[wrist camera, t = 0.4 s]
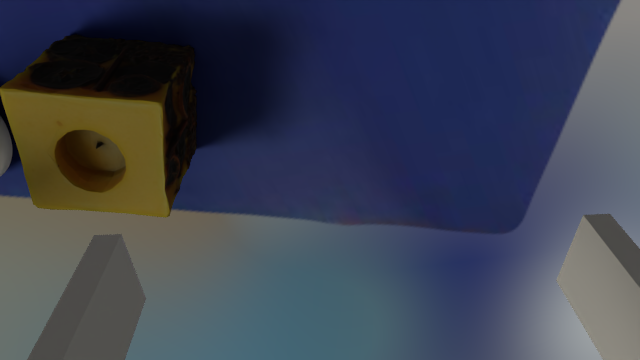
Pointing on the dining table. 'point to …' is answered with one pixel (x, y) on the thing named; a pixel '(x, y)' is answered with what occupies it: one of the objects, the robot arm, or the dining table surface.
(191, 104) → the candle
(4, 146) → the flower in vase
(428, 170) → the dining table surface
